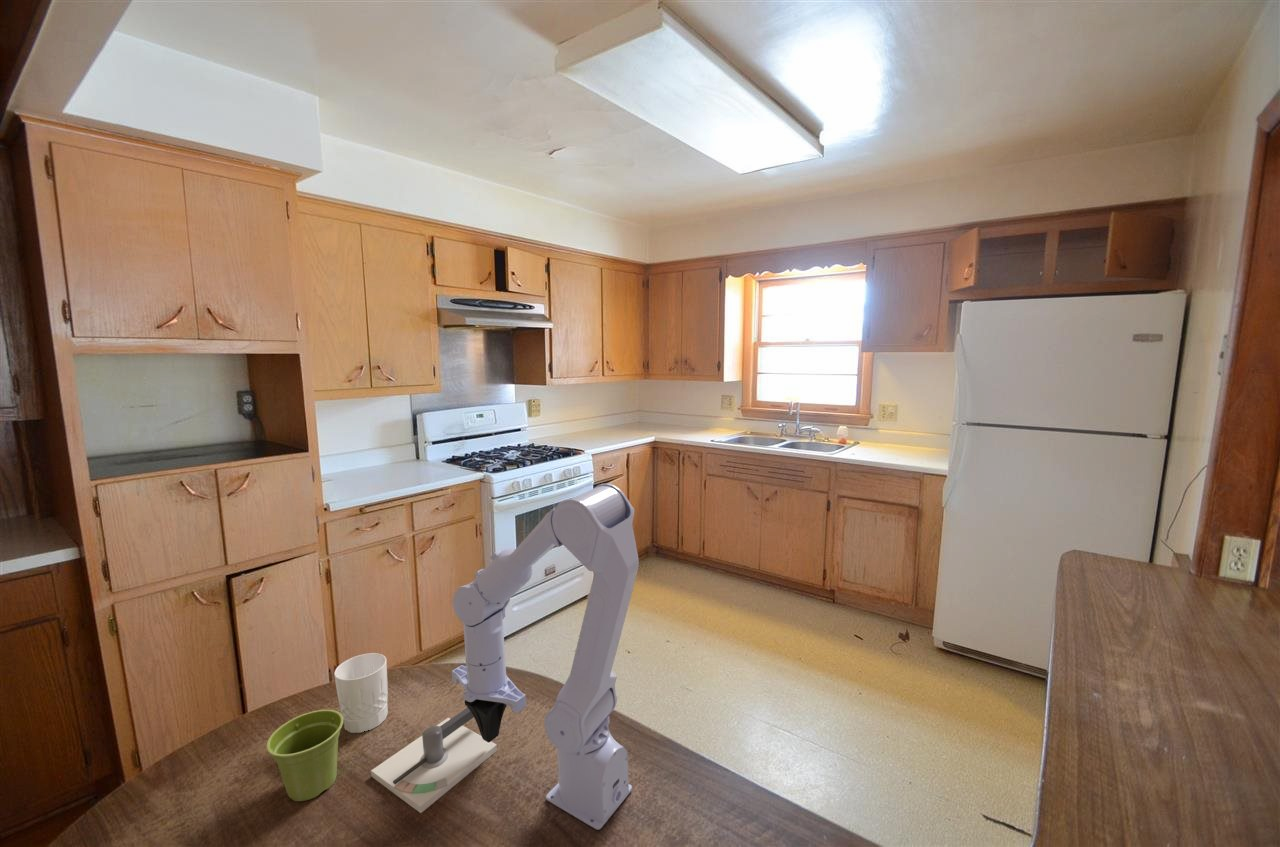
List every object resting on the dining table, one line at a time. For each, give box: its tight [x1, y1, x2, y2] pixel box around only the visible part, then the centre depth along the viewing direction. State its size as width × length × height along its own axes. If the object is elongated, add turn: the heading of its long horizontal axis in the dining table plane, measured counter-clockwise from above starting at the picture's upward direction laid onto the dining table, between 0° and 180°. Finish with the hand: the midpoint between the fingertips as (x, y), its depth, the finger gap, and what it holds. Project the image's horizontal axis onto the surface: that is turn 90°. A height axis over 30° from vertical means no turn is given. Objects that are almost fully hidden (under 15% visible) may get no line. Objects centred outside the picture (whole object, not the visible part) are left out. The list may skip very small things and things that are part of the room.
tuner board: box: [370, 717, 498, 814], centre depth 80 cm, size 12×14×1 cm
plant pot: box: [266, 709, 344, 802], centre depth 76 cm, size 9×9×9 cm
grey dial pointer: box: [393, 706, 474, 784], centre depth 81 cm, size 16×3×4 cm, turn 147°
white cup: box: [333, 652, 389, 734], centre depth 90 cm, size 8×8×10 cm
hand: (490, 737), depth 82 cm, fingers closed
